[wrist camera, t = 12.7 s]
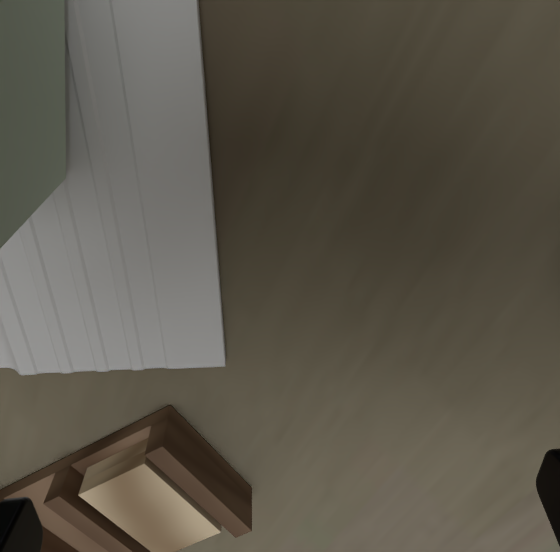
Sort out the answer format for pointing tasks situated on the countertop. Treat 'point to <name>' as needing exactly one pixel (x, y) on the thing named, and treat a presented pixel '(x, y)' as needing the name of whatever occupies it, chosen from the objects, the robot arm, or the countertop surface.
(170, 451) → the rack
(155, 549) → the offcut top
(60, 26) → the pale green block
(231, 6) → the countertop surface
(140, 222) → the baseboard
